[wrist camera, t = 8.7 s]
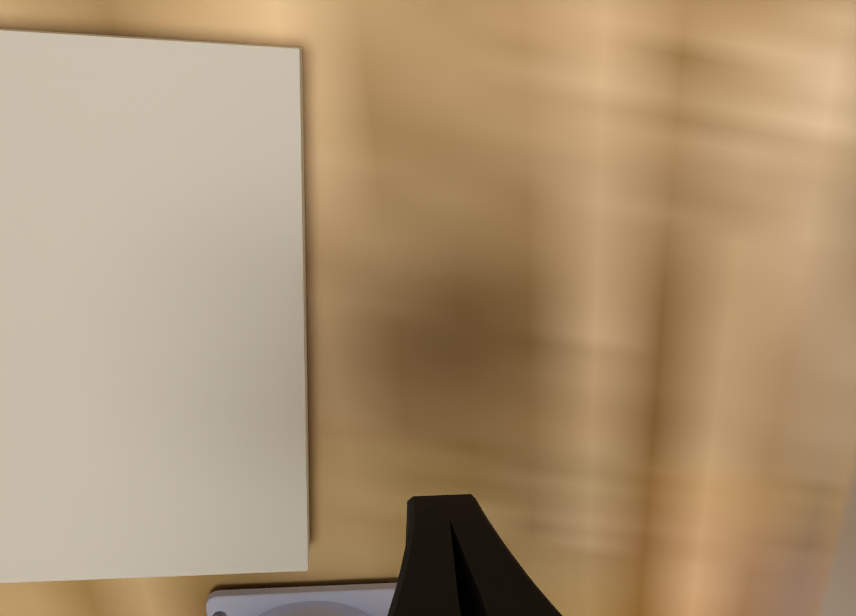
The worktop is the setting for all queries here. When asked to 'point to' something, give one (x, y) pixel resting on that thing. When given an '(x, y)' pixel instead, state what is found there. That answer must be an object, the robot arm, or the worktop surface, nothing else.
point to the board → (151, 308)
